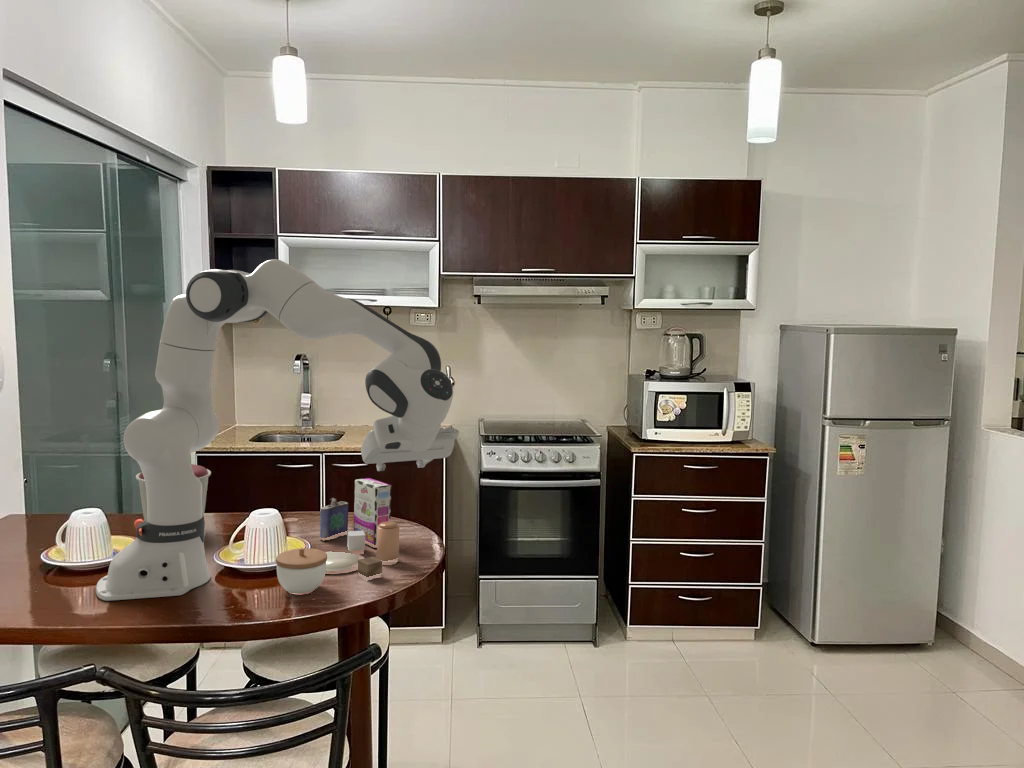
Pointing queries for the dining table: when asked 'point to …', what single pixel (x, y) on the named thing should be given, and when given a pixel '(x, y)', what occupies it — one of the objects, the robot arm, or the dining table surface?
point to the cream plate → (340, 561)
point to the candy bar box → (371, 506)
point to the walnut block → (369, 566)
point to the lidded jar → (301, 569)
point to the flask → (334, 518)
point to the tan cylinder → (387, 541)
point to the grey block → (355, 540)
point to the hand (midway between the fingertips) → (400, 466)
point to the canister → (198, 472)
